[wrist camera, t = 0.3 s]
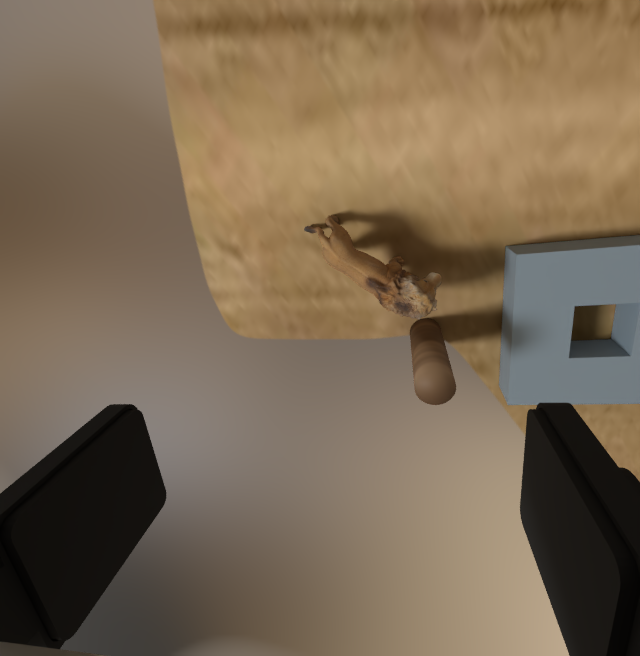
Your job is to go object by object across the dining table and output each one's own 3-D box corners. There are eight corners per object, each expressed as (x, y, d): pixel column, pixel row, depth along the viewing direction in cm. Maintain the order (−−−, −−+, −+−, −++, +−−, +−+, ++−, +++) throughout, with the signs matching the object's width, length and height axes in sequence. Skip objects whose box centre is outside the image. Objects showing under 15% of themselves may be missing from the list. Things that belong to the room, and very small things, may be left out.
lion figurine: (443, 262, 42) (454, 287, 34) (419, 305, 44) (424, 339, 36) (314, 205, 42) (294, 216, 34) (296, 251, 44) (274, 272, 36)
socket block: (505, 246, 40) (516, 254, 37) (692, 230, 37) (724, 238, 33) (499, 385, 46) (508, 404, 42) (659, 382, 43) (684, 403, 39)
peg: (409, 319, 45) (413, 370, 34) (440, 317, 44) (456, 369, 33) (410, 346, 46) (415, 405, 35) (441, 345, 45) (456, 404, 35)
